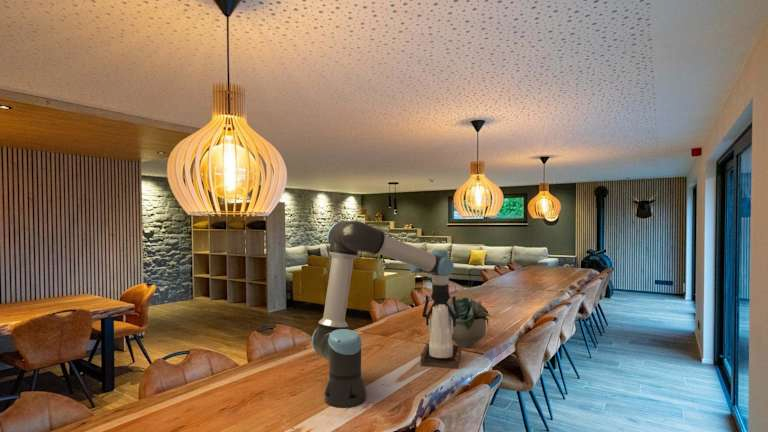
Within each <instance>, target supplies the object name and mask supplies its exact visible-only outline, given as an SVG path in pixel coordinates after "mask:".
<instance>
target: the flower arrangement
mask: <svg viewBox="0 0 768 432" xmlns="http://www.w3.org/2000/svg"><path fill="white" fill-rule="evenodd" d="M456 304H457V308H458V311H459V315H460V317H459V319H456V326H455V327H453V330H454V333H453V335H452V342H453V341H454V342H455V343H456V345H459V346H461V348H473V346H475V343H478V342H479V341H481V340H482V339H483V338H484V337H485V334H486V331H487V326H489V320H490V319H489V318H491V315H490V314H489V312H488V310H487V309H486V307H485V306H483V305H482V301H481V300H478V301H476V300H474V299H473V298H472V297H463V298H458V299H456ZM449 306H450V307H451V309H452V311H453V313H454V315H455V316H456V313H455V309H454V306H453V301H450V302H449ZM487 317H489V318H487ZM451 319H453V318H452V317H451V315H450V326H451Z"/></svg>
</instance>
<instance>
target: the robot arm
mask: <svg viewBox="0 0 768 432" xmlns="http://www.w3.org/2000/svg"><path fill="white" fill-rule="evenodd" d="M326 235H327V236H326V238H327V239H326V240H327V242H328V244H329V251H328V253H329V255H330V256H331V261H330V262H331V264H330V267H329V268H330V269H329V275H328V284H327V290H326V296H325V304H324V311H323V317H322V318H321V319H320V320H319V321H318V322H317V324H318V325H317V328H315V330H314V331H313V334H312V336H311V346H312V348H313V350H314V351H315V353H316V354H317V355H318V356H319V357H322V358H323V359H325V360H326V361H327V362H328V379H327V383H326V386H325V390H324V395H323V397H324V402H325V403H326V405H329V406H332V407H337V408H350V407H353V406H355V407H356V406H357V405H358V406H359V405H361V404H363V403H364V402H365V401H366V400H367V389H366V385H365V383H364V381H363V377H362V346H363V345H362V341H361V340H362V337H361V335H360V334H359V332H357V331H355V330H352V329H349V325H348V323H347V322H346V313H347V307H348V302H349V301H348V300H349V295H350V294H349V291H350V287H351V286H350V285H351V280H352V274H353V273H352V271H353V267H354V266H353V265H354V260H356V258H358V256H359V252H360V253H361V252H363V253H368V254H372V255H374V256H376V255H378V254H379V255H381V256H385V257H387V258H390V259H393V260H395V261H399V262H400V263H403V264H406V265H408V269H409V271H410V272H411V273H413V274H420V273H421V274H429V275H431V282H432V285H431V287H432V288H431V292H432V293H431V295H428V294H427V295H425V296H424V297H425V303H424V306H423V307H424V308H423V311H422V317H423V318H425V319H426V326H428V334H430V333H431V313H432V309H433V307H435V305H436V304H437V305H439V304H441V305H443V304H445V305H446V306H448V311H449V313H450V315H451V317H452V318H453V319H451V334H452V335H453V333H454V330H453V327H455V326H456V319H459V317H460V315H459V311H458V308H457V304H456V300H457V297H456V295H450V291H449V289H450V288H449V287H450V285H449V281H450V280H449V279H450V278H449V276H450V275H451V274H452V273H453V271H454V267H455V266H454V265H455V264H454V262H453V260H452V259H450V258H449V253H448V251H447V250H446V249H434V250H432V251H431V252H429V251H426V250H424V249H422V248H419V247H417V246H414V245H411V244H408V243H406V242H403V241H401V240H399V239H396V238H394V237H391V236H388V235H386V234H385V232H384V231H383V230H380V229H379V228H376V227H374V226H371V225H370V224H367V223H365V222H363V221H359V220H342V221H338V222H336V223H333V225H331V227H330V228H329V229H328V231H327V234H326ZM431 299H432V301H433V303H432V305H431V307H430V309H429V311H428V312H427V310H428V306H429V302H430V300H431ZM447 301H448V302H449V301H450V302H452V301H453V306H454V309H455V313H456V316H455V315H454V313H453V311H452V309H451V307H450V306H449V305H448V304H447Z"/></svg>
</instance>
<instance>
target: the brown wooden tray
mask: <svg viewBox="0 0 768 432" xmlns="http://www.w3.org/2000/svg"><path fill="white" fill-rule="evenodd" d="M461 359H462V347H461V346H459V345H457V344H456V345H454V344H453V356H452V357H448V358H437V357H436V358H435V357H432V356H430V355H429V343H425V346H424V348H423V349H422V351H421V353H420V367H432V368H442V369H443V368H447V369H457V370H458V369H459V368H460V363H461Z"/></svg>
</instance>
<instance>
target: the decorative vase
mask: <svg viewBox="0 0 768 432" xmlns="http://www.w3.org/2000/svg"><path fill="white" fill-rule="evenodd" d="M449 303H450V302H449V300H448V301H447V304H448V305H449ZM430 318H431V333H429V343H428V344H429V355H430V356H432V357H435V358H436V357H437V358H448V357H452V356H453V345H454V344H453V340H452V334H451V326H450V313H449V311H448V306H446V305H445V304H443V305H441V304H439V305H437V304H436V305H435V307H433V309H432V313H431V315H430Z"/></svg>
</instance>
